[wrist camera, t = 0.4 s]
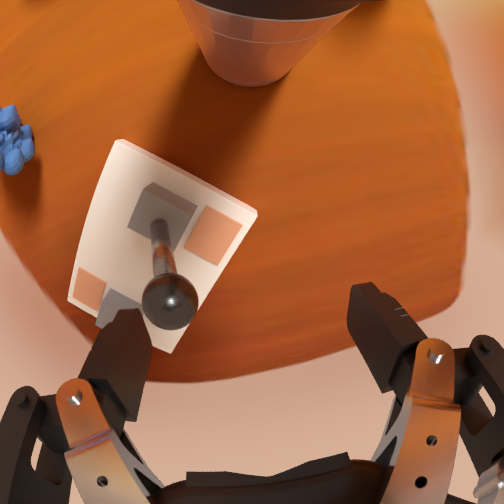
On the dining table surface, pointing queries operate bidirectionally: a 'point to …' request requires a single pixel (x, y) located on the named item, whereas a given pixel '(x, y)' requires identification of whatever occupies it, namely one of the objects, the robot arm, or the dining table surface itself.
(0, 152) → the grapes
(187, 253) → the console
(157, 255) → the lever
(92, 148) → the dining table surface
